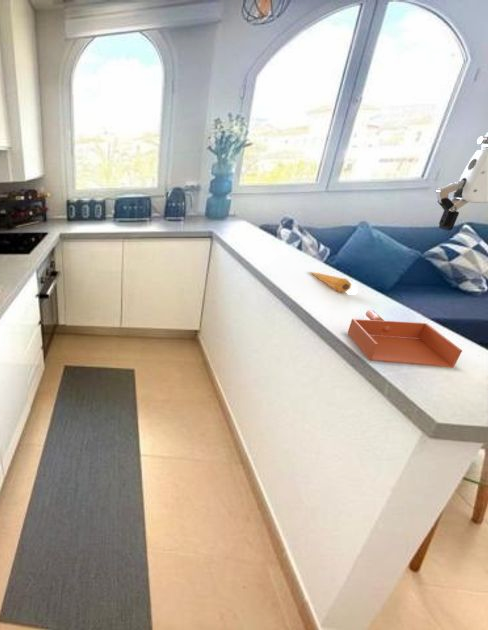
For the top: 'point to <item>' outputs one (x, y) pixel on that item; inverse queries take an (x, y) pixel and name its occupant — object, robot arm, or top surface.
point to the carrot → (334, 282)
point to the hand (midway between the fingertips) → (473, 229)
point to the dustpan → (402, 342)
